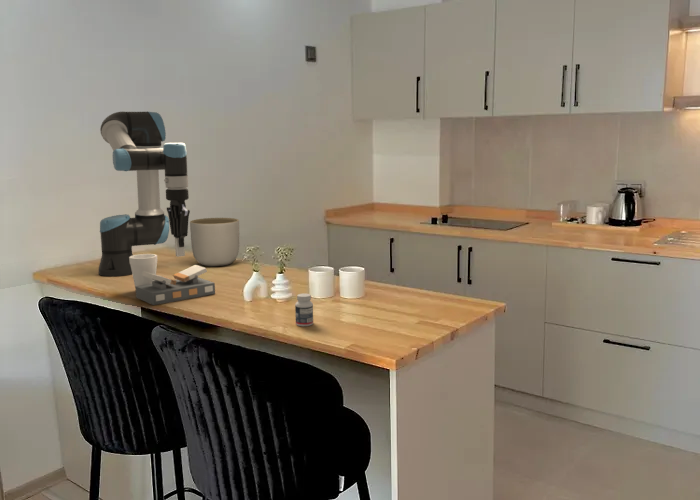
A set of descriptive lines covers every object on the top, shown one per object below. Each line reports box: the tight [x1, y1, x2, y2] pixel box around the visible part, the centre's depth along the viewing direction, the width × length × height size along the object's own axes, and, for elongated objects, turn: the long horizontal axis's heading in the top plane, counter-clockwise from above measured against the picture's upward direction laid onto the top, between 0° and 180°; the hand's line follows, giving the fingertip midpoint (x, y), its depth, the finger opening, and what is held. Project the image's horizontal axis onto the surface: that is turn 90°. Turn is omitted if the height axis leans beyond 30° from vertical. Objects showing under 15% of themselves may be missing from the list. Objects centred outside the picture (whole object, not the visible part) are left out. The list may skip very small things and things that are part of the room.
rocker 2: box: [173, 264, 208, 282], centre depth 231 cm, size 8×9×2 cm
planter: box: [189, 217, 240, 267], centre depth 282 cm, size 21×21×19 cm
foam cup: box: [129, 253, 158, 287], centre depth 233 cm, size 10×9×13 cm
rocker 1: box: [142, 271, 177, 285], centre depth 223 cm, size 8×9×2 cm
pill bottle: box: [294, 293, 314, 327], centre depth 192 cm, size 5×5×9 cm
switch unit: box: [134, 276, 216, 306], centre depth 228 cm, size 14×23×6 cm, turn 131°
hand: (180, 255), depth 227 cm, fingers closed
